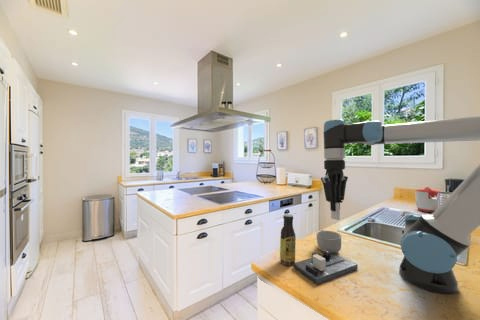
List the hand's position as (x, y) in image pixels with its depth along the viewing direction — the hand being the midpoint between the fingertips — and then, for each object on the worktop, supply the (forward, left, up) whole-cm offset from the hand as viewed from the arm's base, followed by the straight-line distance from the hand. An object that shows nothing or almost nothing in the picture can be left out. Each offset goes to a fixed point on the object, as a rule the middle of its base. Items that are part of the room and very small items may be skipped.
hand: (335, 218), depth 80 cm
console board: (+2, +4, -20) cm, 20 cm away
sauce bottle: (+12, +14, -20) cm, 27 cm away
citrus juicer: (+25, -141, -20) cm, 145 cm away
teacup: (+13, -11, -20) cm, 27 cm away
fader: (0, +9, -18) cm, 20 cm away
